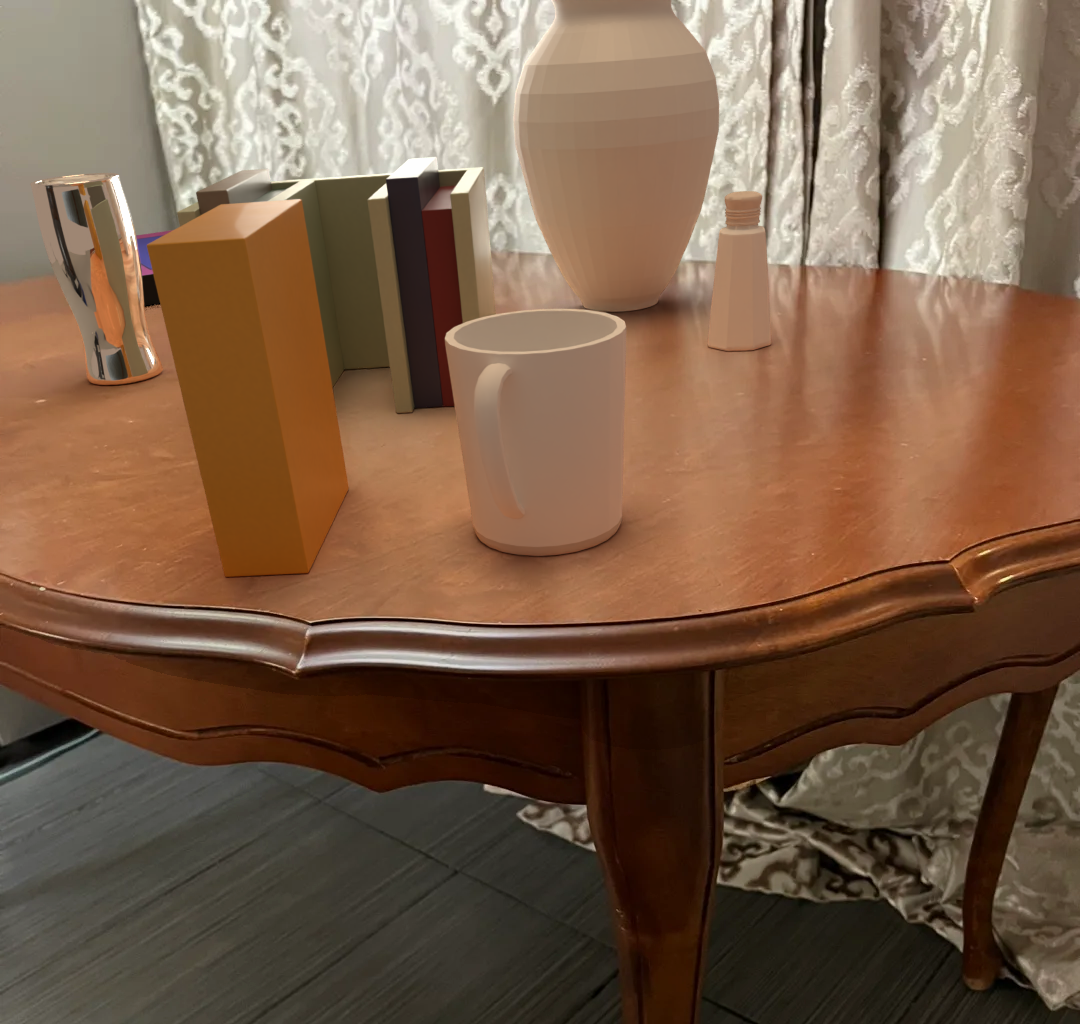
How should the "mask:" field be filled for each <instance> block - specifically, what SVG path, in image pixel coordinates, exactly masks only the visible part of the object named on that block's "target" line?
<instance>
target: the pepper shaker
mask: <svg viewBox="0 0 1080 1024" xmlns="http://www.w3.org/2000/svg"><path fill="white" fill-rule="evenodd" d="M762 201H763V195H762V193H760V192H758V191H754V190H741V191H740V190H739V191H733V192H730V193H727V194H726V195H725V196H724V204H725V209H724V211H725V212H724V214H725V215H724V217H725V221H724V222H725V223H724V224H725V225H726V227H722V228H720V229H719V232H718V241H717V249H716V260H715V267H714V277H713V286H712V295H711V304H710V313H709V322H708V333H707V347H708V348H710V349H711V348H712V349H715V350H720V351H726V352H737V351H738V352H739V351H740V352H741V351H754V350H759V349H762V348H765V347H768V346H770V345H771V344H772V329H771V328H772V327H771V310H770V309H771V308H770V289H769V287H770V286H769V269H768V268H769V267H768V248H767V247H768V246H767V233H766V228H765V227H764V226H763V225H759V224H760V222H761V220H760V217H761V209H762V208H761V204H762Z"/></svg>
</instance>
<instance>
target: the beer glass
mask: <svg viewBox="0 0 1080 1024" xmlns="http://www.w3.org/2000/svg"><path fill="white" fill-rule="evenodd" d="M29 185H30V187H31V192H32V196H33V202H34V206H35V207H34V208H35V211H36V216H37V221H38V222H37V223H38V226H39V230H40V233H41V237H42V238H41V239H42V242H43V245H44V249H45V252H46V255H47V258H48V261H49V264H50V266H51V268H52V271H53V274H54V276H55V279H56V280H57V282H58V285H59V288H60V289H61V292H62V294H63V296H64V298H65V300H66V302H67V305H68V307H69V309H70V311H71V313H72V315H73V318H74V320H75V322H76V325H77V328H78V331H79V334H80V336H81V341H82V346H83V351H84V352H83V353H84V359H85V370H86V378H87V381H88V382H89V383H91V384H93V385H98V386H120V385H127V384H132V383H133V384H134V383H138V382H142V381H145V380H149V379H151V378H154V377H156V376H159V375H160V374H161V373H162V372H163V369H164V367H163V365H162V362H161V359H160V357H159V355H158V352H157V350H156V348H155V345H154V343H153V340H152V338H151V335H150V332H149V328H148V322H147V317H146V308H145V307H146V306H144V295H143V280H142V268H141V259H140V251H139V246H138V241H137V236H136V235H137V232H136V228H135V224H134V220H133V216H132V213H131V209H130V207H129V204H128V200H127V197H126V194H125V191H124V187H123V185H122V182H121V178H120V174H119V173H117V172H95V173H94V172H91V173H90V172H89V173H79V174H78V173H77V174H69V175H62V176H61V175H60V176H55V177H48V178H43V179H42V178H41V179H38V180H34V181H32V182H31V183H30V184H29Z"/></svg>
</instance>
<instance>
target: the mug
mask: <svg viewBox="0 0 1080 1024" xmlns="http://www.w3.org/2000/svg"><path fill="white" fill-rule="evenodd" d="M445 346H446V353H447V359H448V366H449V372H450V379H451V385H452V392H453V398H454V405H455V406H454V411H455V417H456V423H457V424H456V425H457V430H458V437H459V443H460V450H461V456H462V463H463V469H464V475H465V476H464V477H465V481H466V488H467V490H466V491H467V495H468V503H469V509H470V515H471V523H472V529H473V531H474V534H475V535H476V536H477V538H478V539H479V541H480V542H481V543H482V544H483V545H486V546H487V547H488V548H490V549H493V550H496V551H499V552H501V553H507V554H512V555H518V556H530V557H531V556H533V557H545V556H559V555H565V554H570V553H576V552H577V553H578V552H580V551H584V550H587V549H590V548H594V547H596V546H598V545H600V544H602V543H604V542H606V541H608V540H609V539H610V538H611V537H613V536H614V535H615V534H616V533H617V531H618V529H619V528H620V526H621V524H622V522H623V499H624V498H623V495H624V491H623V490H624V452H625V451H624V450H625V449H624V448H625V411H626V409H625V408H626V407H625V406H626V403H625V402H626V367H627V366H626V364H627V361H626V360H627V359H626V358H627V325H626V322H625V320H624V319H622V318H621V317H619V316H617V315H614V314H611V313H609V312H604V311H594V310H589V309H580V308H540V309H539V308H538V309H525V310H524V309H523V310H516V311H508V312H501V313H496V315H491V316H486V317H481V318H478V319H474V320H471V321H467V322H465V323H463V324H460V325H458V326H456V327H454V328H452V329H451V330H450V331H448V332H447V333H446V336H445Z"/></svg>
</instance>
